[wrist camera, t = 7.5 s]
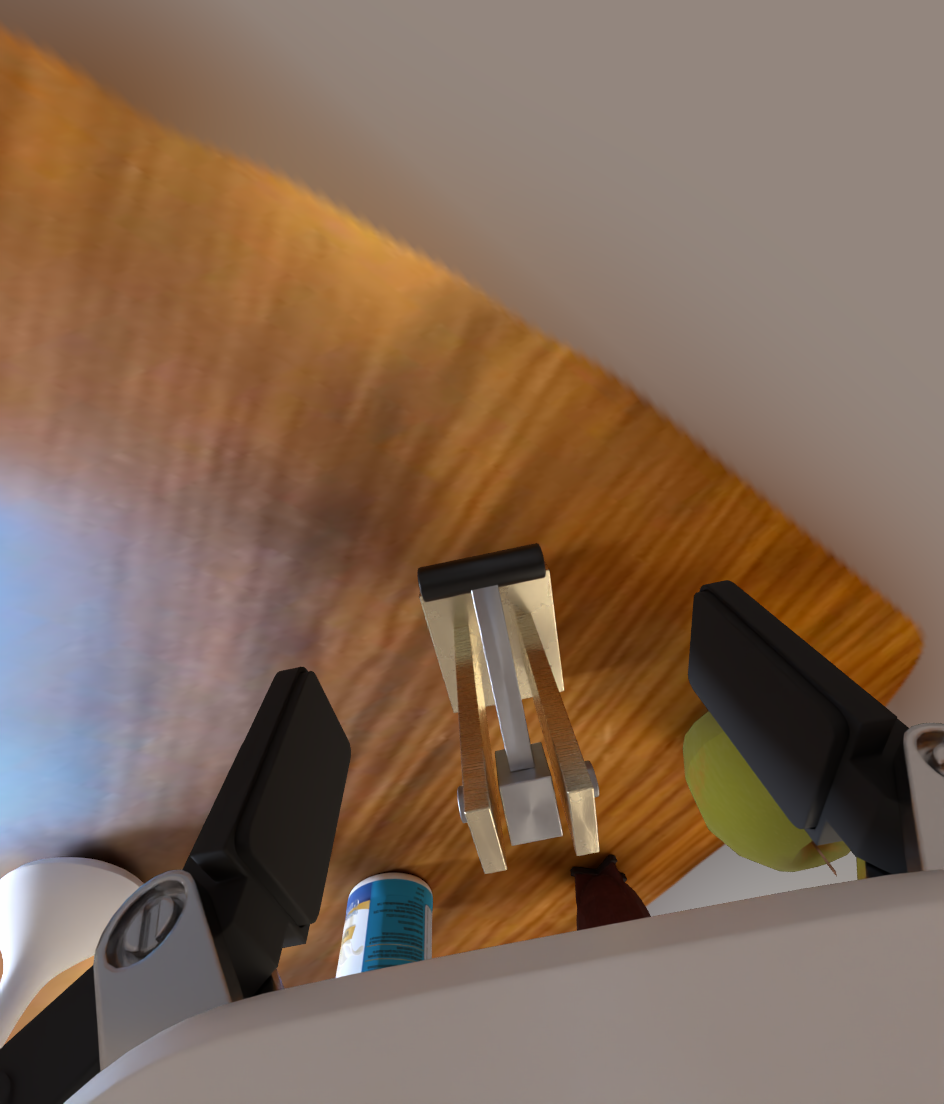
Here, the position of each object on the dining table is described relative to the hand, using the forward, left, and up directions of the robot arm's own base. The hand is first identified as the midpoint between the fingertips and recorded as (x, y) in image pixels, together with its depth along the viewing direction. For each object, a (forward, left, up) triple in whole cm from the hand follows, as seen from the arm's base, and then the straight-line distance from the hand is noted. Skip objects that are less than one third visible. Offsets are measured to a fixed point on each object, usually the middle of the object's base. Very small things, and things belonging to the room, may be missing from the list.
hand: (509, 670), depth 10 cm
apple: (+29, +1, -15) cm, 32 cm away
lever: (+5, -4, -6) cm, 9 cm away
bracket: (+9, -6, -15) cm, 18 cm away
